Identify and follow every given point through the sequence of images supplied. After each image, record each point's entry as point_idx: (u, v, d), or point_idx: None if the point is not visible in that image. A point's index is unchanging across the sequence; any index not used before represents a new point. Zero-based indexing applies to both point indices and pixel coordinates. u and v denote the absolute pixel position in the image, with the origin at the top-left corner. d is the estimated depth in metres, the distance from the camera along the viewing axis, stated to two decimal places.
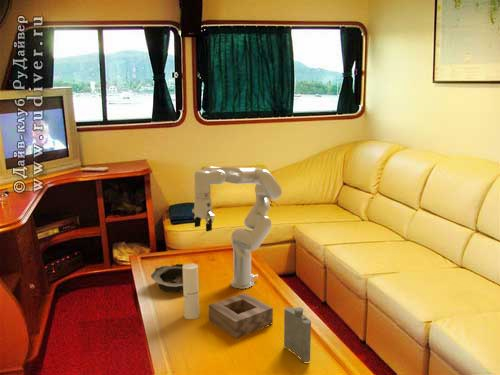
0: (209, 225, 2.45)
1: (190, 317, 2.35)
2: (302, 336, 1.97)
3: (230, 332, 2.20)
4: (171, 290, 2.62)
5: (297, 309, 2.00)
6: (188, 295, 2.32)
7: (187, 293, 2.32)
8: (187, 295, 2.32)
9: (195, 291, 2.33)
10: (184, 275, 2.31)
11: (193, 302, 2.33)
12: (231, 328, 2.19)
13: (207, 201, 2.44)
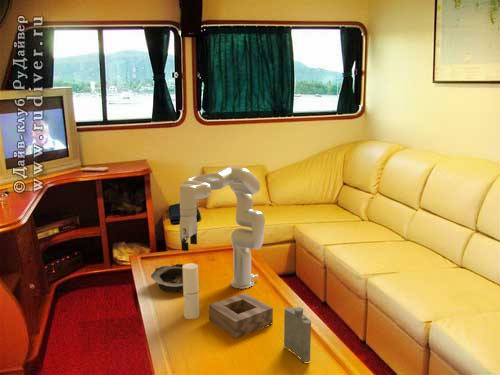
0: None
1: (190, 317, 2.35)
2: (302, 336, 1.97)
3: (230, 332, 2.20)
4: (171, 290, 2.62)
5: (297, 309, 2.00)
6: (188, 295, 2.32)
7: (187, 293, 2.32)
8: (187, 295, 2.32)
9: (195, 291, 2.33)
10: (184, 275, 2.31)
11: (193, 302, 2.33)
12: (231, 328, 2.19)
13: None
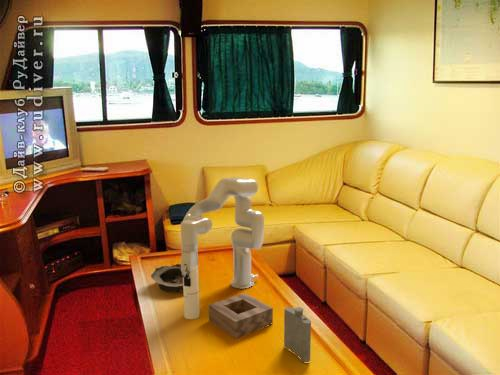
0: None
1: (190, 317, 2.34)
2: (302, 336, 1.97)
3: (230, 332, 2.20)
4: (171, 290, 2.62)
5: (297, 309, 2.00)
6: (188, 295, 2.32)
7: (187, 293, 2.32)
8: (187, 295, 2.32)
9: (195, 291, 2.33)
10: None
11: (193, 302, 2.33)
12: (231, 328, 2.19)
13: None
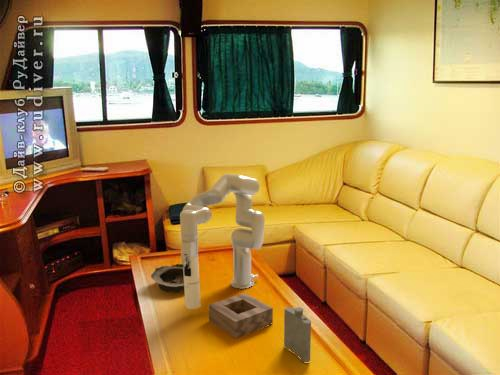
0: None
1: (191, 307, 2.34)
2: (302, 336, 1.97)
3: (230, 332, 2.20)
4: (171, 290, 2.62)
5: (297, 309, 2.00)
6: (189, 285, 2.32)
7: (188, 283, 2.32)
8: (188, 285, 2.32)
9: (196, 281, 2.32)
10: None
11: (194, 291, 2.33)
12: (231, 328, 2.19)
13: None
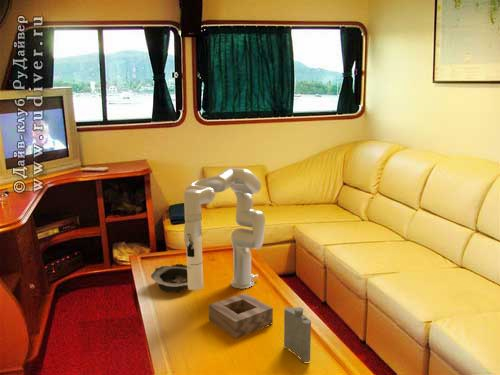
0: None
1: (194, 288, 2.31)
2: (302, 336, 1.97)
3: (230, 332, 2.20)
4: (171, 290, 2.62)
5: (297, 309, 2.00)
6: (192, 266, 2.29)
7: (191, 264, 2.28)
8: (191, 266, 2.29)
9: (199, 262, 2.29)
10: None
11: (197, 273, 2.30)
12: (231, 328, 2.19)
13: None
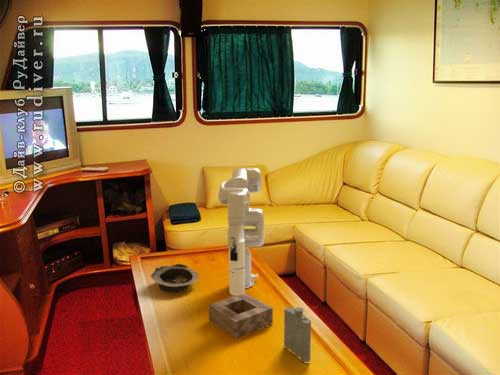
0: None
1: (236, 293, 2.25)
2: (302, 336, 1.97)
3: (230, 332, 2.20)
4: (171, 290, 2.62)
5: (297, 309, 2.00)
6: (234, 270, 2.23)
7: (233, 268, 2.22)
8: (233, 270, 2.23)
9: (242, 266, 2.23)
10: None
11: (240, 277, 2.24)
12: (231, 328, 2.19)
13: None
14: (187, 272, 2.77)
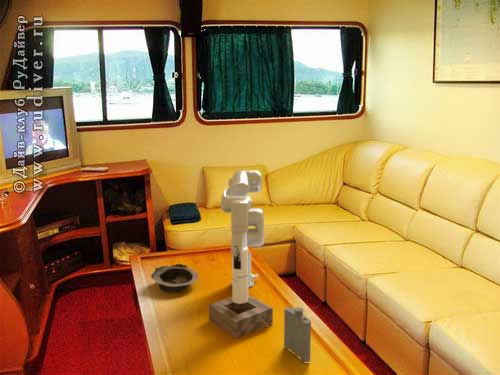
0: None
1: (239, 301, 2.25)
2: (302, 336, 1.97)
3: (230, 332, 2.20)
4: (171, 290, 2.62)
5: (297, 309, 2.00)
6: (238, 278, 2.23)
7: (237, 276, 2.23)
8: (237, 278, 2.23)
9: (245, 274, 2.23)
10: None
11: (243, 285, 2.24)
12: (231, 328, 2.19)
13: None
14: (187, 272, 2.77)
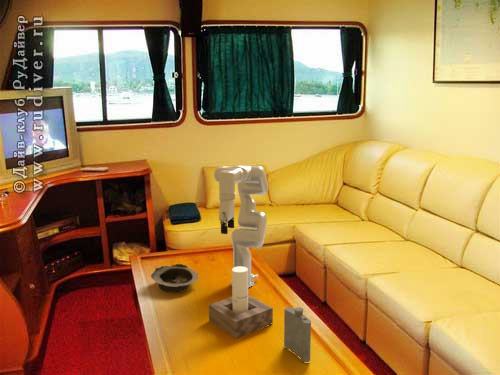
0: None
1: None
2: (302, 336, 1.97)
3: (230, 332, 2.20)
4: (171, 290, 2.62)
5: (297, 309, 2.00)
6: (238, 299, 2.25)
7: (237, 297, 2.25)
8: (237, 299, 2.26)
9: (245, 295, 2.26)
10: (234, 278, 2.24)
11: (243, 306, 2.26)
12: (231, 328, 2.19)
13: None
14: (187, 272, 2.77)
